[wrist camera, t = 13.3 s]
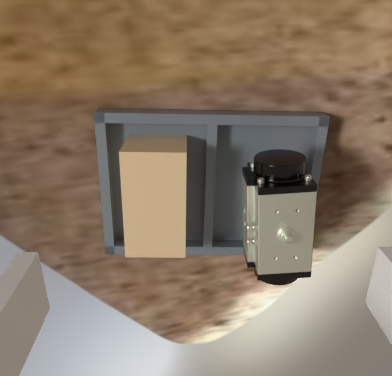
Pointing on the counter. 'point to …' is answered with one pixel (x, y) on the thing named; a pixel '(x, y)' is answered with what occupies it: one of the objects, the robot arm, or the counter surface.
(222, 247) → the bay tray
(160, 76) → the counter surface
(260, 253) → the pneumatic valve
